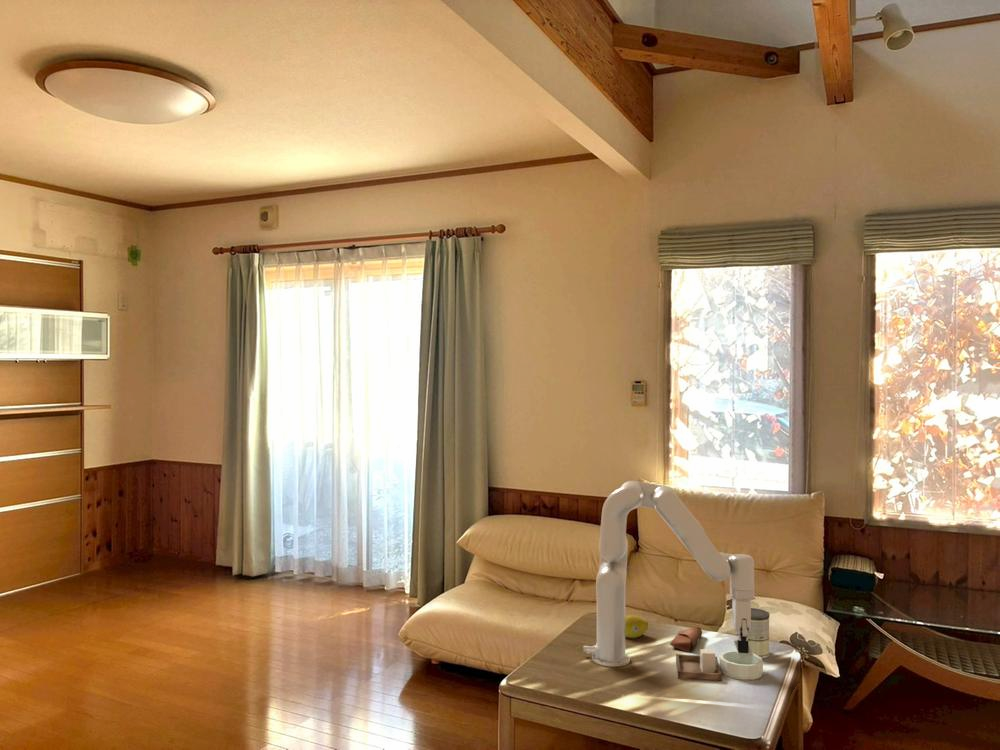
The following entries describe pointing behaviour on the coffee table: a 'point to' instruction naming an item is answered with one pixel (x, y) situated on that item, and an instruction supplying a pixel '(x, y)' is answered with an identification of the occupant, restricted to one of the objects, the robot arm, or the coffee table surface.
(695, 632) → the sunglasses case
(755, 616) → the coffee can
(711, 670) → the beige brick
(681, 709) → the coffee table surface
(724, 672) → the celadon bowl
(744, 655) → the light grey block
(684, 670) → the walnut tray
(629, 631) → the lemon
